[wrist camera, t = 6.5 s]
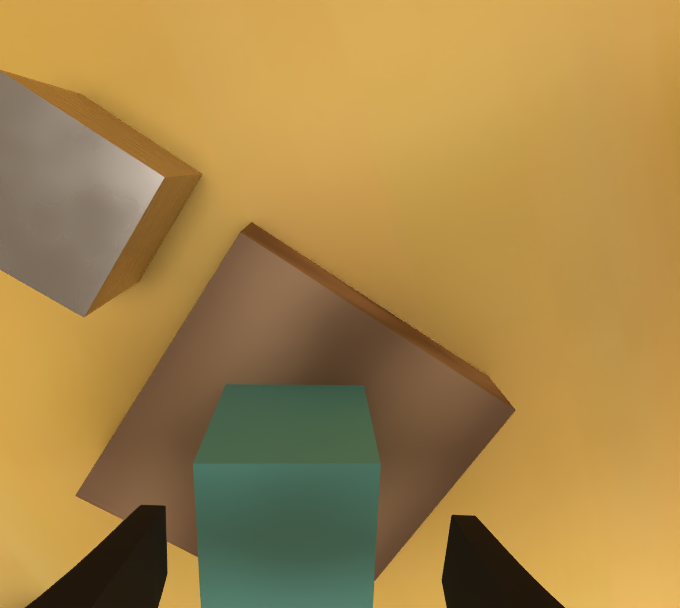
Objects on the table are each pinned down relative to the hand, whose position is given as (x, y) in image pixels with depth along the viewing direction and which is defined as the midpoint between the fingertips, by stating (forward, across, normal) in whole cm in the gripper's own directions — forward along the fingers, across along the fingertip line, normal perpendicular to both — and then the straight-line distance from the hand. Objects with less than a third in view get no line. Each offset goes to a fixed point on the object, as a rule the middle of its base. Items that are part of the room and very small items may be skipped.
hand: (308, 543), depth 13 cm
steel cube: (+9, +8, -8) cm, 15 cm away
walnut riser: (+9, +1, +1) cm, 9 cm away
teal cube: (+6, +1, +1) cm, 6 cm away
